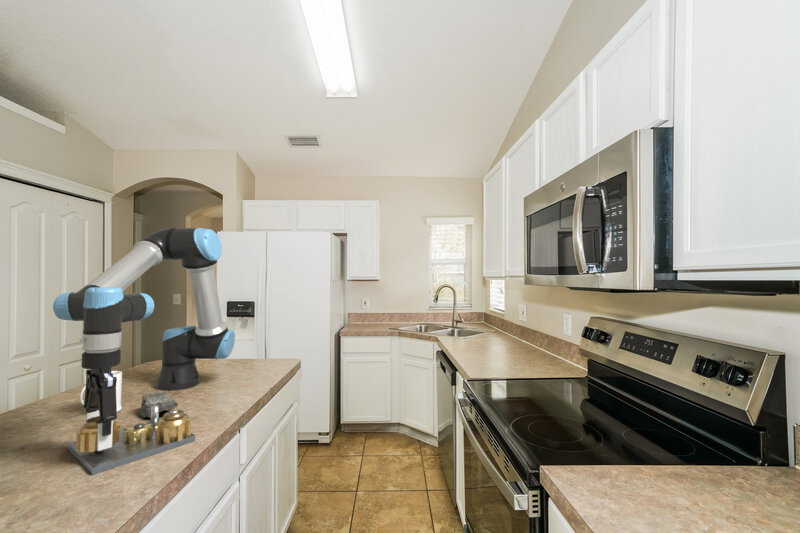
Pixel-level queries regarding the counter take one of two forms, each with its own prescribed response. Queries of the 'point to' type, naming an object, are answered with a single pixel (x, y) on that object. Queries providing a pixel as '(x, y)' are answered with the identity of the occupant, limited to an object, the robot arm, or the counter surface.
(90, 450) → the gear
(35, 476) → the counter surface
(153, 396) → the rock
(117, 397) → the mug
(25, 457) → the counter surface
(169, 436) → the carrier
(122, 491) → the counter surface
